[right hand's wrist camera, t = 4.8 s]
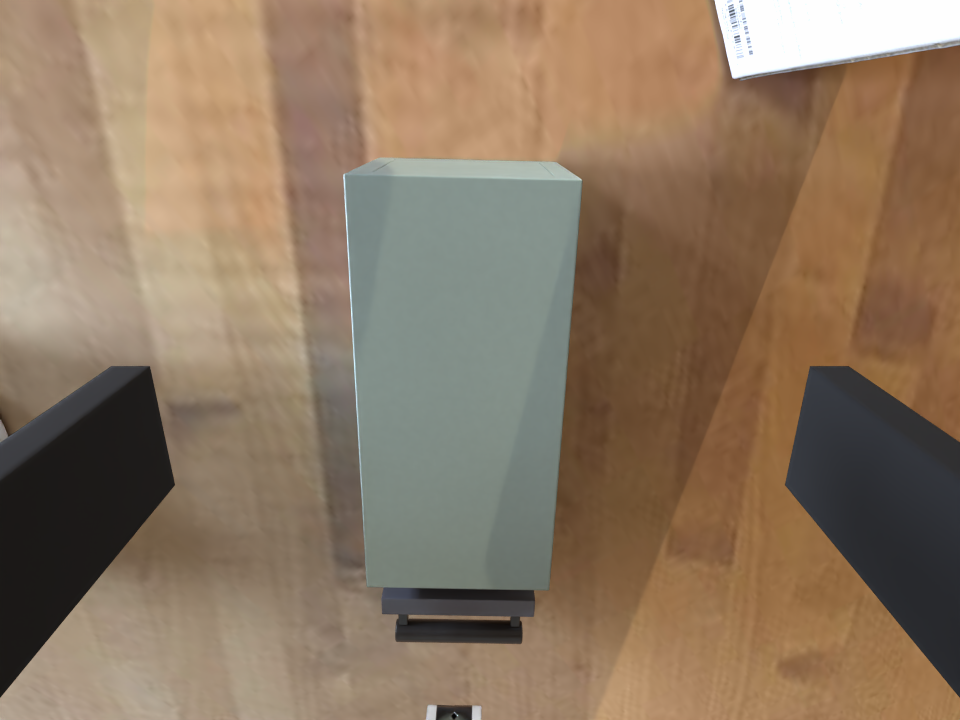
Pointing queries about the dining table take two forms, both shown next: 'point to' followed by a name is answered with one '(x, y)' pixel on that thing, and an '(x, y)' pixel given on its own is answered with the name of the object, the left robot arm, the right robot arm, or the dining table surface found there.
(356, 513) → the dining table surface
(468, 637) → the drawer
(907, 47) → the hard drive box
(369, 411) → the cabinet
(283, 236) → the dining table surface
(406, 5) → the dining table surface
